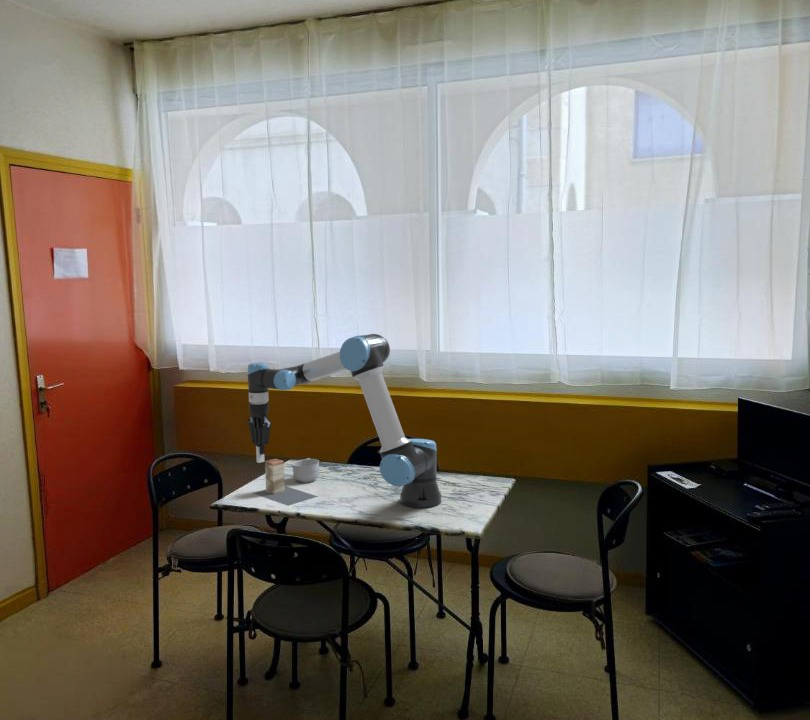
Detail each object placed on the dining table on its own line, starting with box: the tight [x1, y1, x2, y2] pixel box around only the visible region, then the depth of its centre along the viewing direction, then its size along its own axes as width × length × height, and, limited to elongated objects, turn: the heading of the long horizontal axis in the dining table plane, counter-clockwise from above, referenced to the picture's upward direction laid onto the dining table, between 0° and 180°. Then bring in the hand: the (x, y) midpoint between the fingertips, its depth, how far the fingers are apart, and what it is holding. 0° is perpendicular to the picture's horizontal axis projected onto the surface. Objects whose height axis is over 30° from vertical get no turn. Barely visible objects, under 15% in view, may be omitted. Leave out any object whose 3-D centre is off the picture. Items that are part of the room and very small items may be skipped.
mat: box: [252, 485, 319, 506], centre depth 258 cm, size 22×14×1 cm, turn 47°
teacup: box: [291, 457, 320, 484], centre depth 278 cm, size 14×11×8 cm
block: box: [264, 458, 285, 494], centre depth 261 cm, size 5×5×12 cm
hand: (260, 461), depth 267 cm, fingers closed
